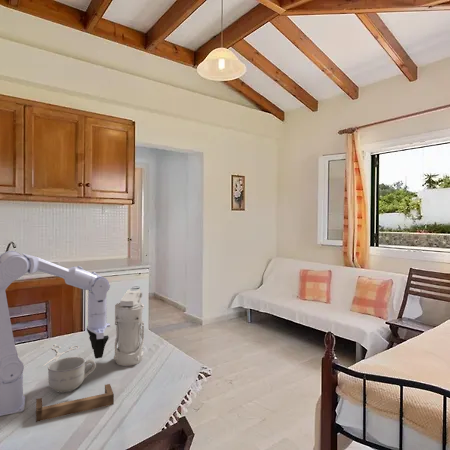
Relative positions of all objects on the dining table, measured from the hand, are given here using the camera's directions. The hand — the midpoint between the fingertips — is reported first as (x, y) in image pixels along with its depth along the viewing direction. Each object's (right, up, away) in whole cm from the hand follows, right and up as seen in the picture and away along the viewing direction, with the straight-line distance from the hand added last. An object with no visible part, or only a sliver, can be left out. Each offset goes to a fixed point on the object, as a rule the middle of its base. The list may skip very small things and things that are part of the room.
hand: (97, 353), depth 116 cm
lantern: (+6, -9, +18) cm, 21 cm away
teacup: (-7, -10, -3) cm, 12 cm away
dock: (-1, -10, -14) cm, 17 cm away
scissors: (-22, -8, +19) cm, 30 cm away
